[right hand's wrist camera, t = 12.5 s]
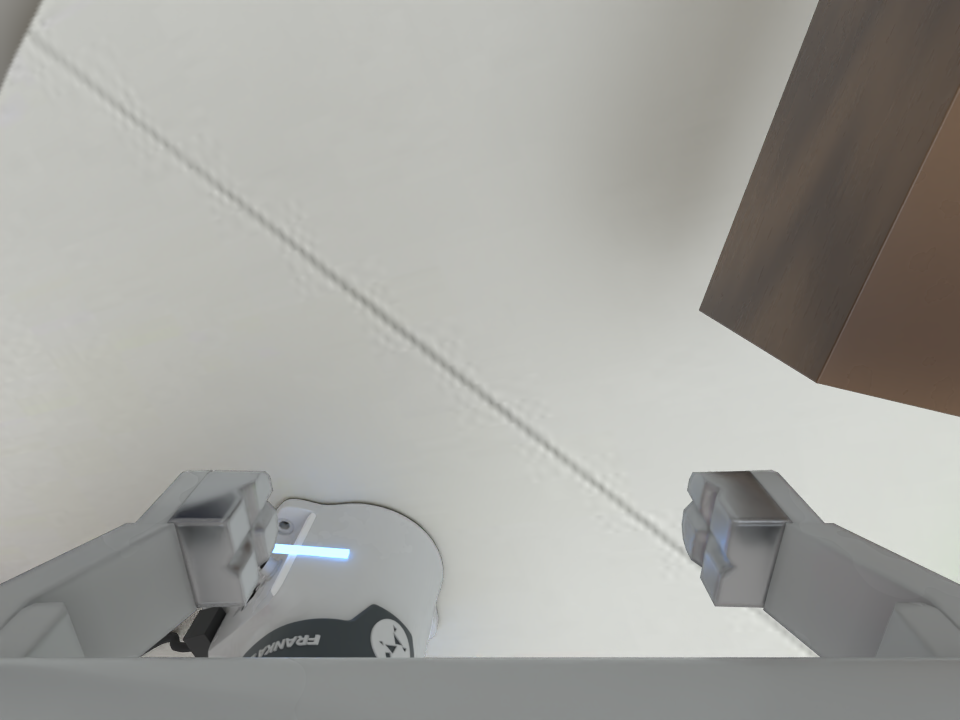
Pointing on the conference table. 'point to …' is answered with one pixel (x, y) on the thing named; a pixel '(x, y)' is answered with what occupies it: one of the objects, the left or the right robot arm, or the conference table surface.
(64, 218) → the conference table surface
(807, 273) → the bar
